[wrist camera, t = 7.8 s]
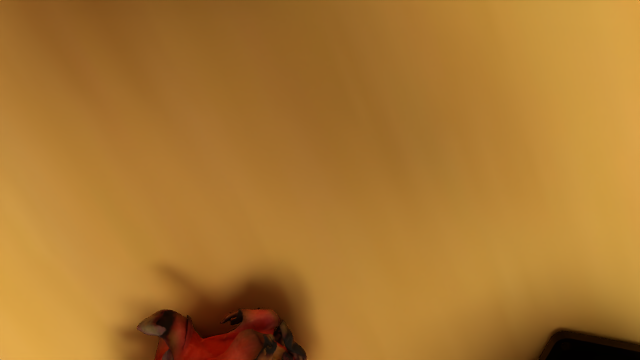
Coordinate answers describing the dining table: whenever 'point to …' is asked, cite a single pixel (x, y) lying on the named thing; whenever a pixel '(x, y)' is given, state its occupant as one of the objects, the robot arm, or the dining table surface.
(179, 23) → the dining table surface
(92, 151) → the dining table surface
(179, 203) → the dining table surface
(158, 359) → the dragon fruit
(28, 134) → the dining table surface
